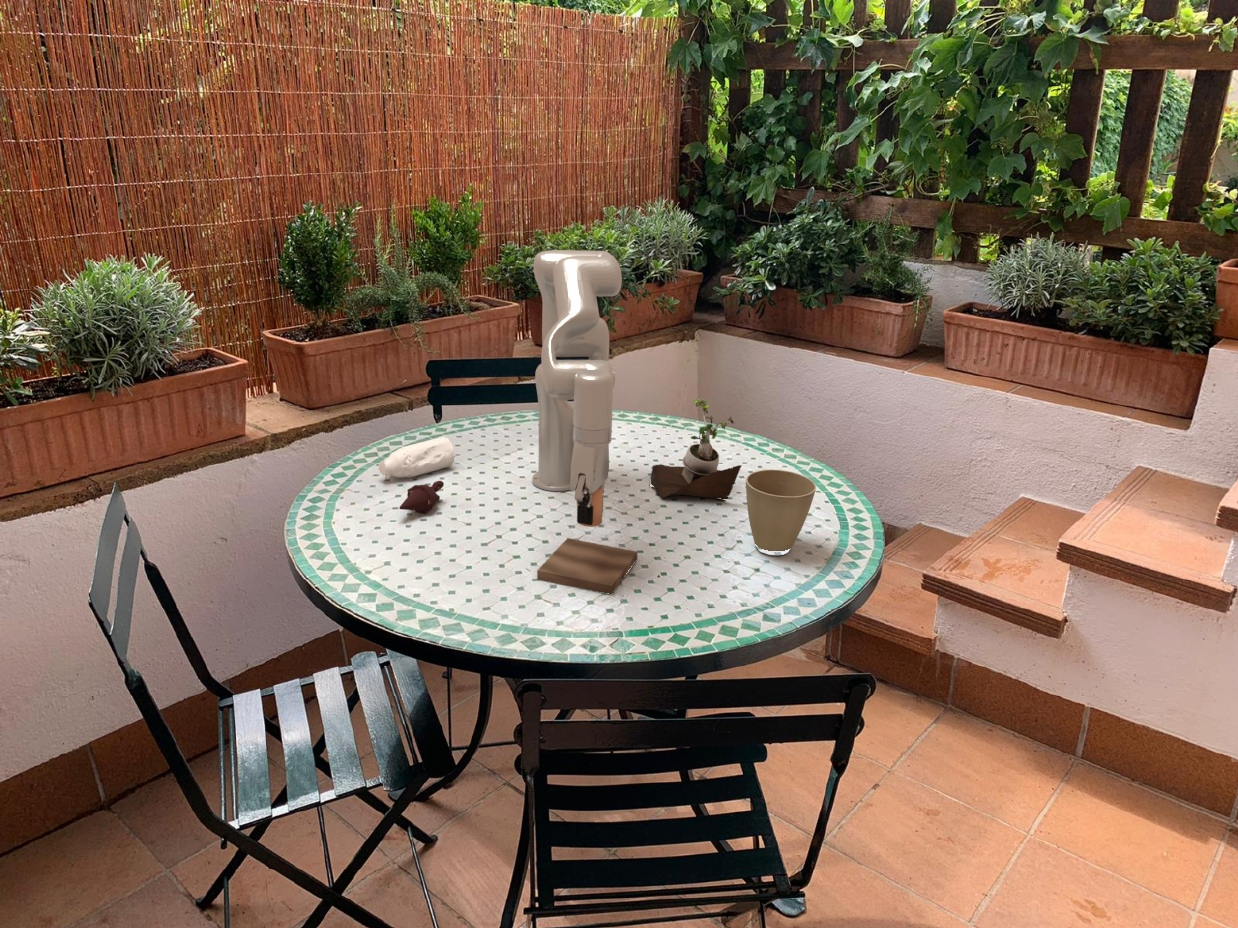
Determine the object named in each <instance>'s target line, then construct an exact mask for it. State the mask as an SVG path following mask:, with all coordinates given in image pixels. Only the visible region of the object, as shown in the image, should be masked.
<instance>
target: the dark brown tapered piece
mask: <svg viewBox="0 0 1238 928" xmlns="http://www.w3.org/2000/svg"><path fill="white" fill-rule="evenodd" d="M443 487H444V481H443V480H436V481H434V482H433V483H432V485H431V486H430V485H428V484H414V485H413V486H411V487H410V488H408V489H407V496H406V498H405V499H404V501H403V502H402V503H401V505H399V508H398V509H399V510H406V511H407V510H408V511H414V512H415V513H416V514H422V515H426V514H428V513H429V512H430V511H431V510H433V509H435V506H436V505H437V503H438V502H439V501H440V499H441V497H440V495H439V494H438V493H437V492H439V491H440V490H441V489H442V488H443Z"/></svg>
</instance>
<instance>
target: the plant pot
mask: <svg viewBox="0 0 1238 928" xmlns="http://www.w3.org/2000/svg"><path fill="white" fill-rule="evenodd" d="M816 490H817V485H816V483H815V482H814V481H813V480H812V479H810V478H809V477H807V476H805V475H803V474H800V473H796V472H793V471H789V470H782V469H761V470H757V471H754V472H751V473H749V474H748V475H746V477H745V493H746V505H747V506H746V507H747V513H748V520H749V525H750V531H751V535H752V539H753V543H754V545H755V544H756V545H757V546H758V547H759V548H761V549H764V550H768V551H785V550H788V549H790V548H791V547H792V548H793V546H794V544H795V542H796V541H797V539H798V537H799V535H800V534H801V531H802V529H803V526H804V524H805V523H806V520H807V517H808V514H809V511H810V509H811V506H812V503H813V500H814V497H815V493H816ZM792 548H791V549H792Z"/></svg>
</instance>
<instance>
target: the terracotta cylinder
mask: <svg viewBox="0 0 1238 928" xmlns="http://www.w3.org/2000/svg"><path fill="white" fill-rule="evenodd" d="M584 490H586V491H589V488H585V489H584ZM583 495H584V497H586V498H587V500H588V495H587V494H583ZM591 506H593V524H592V525H586V524H581V523H578V524H579V525H581V526H582V527H591V528H592V527H598V526H600V525H602V523H603V513H604V494H603V488H602V487H599V488H598V489H597V490H596V491H595V492H594V493H593V497H592V505H591ZM602 512H603V513H602Z"/></svg>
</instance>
